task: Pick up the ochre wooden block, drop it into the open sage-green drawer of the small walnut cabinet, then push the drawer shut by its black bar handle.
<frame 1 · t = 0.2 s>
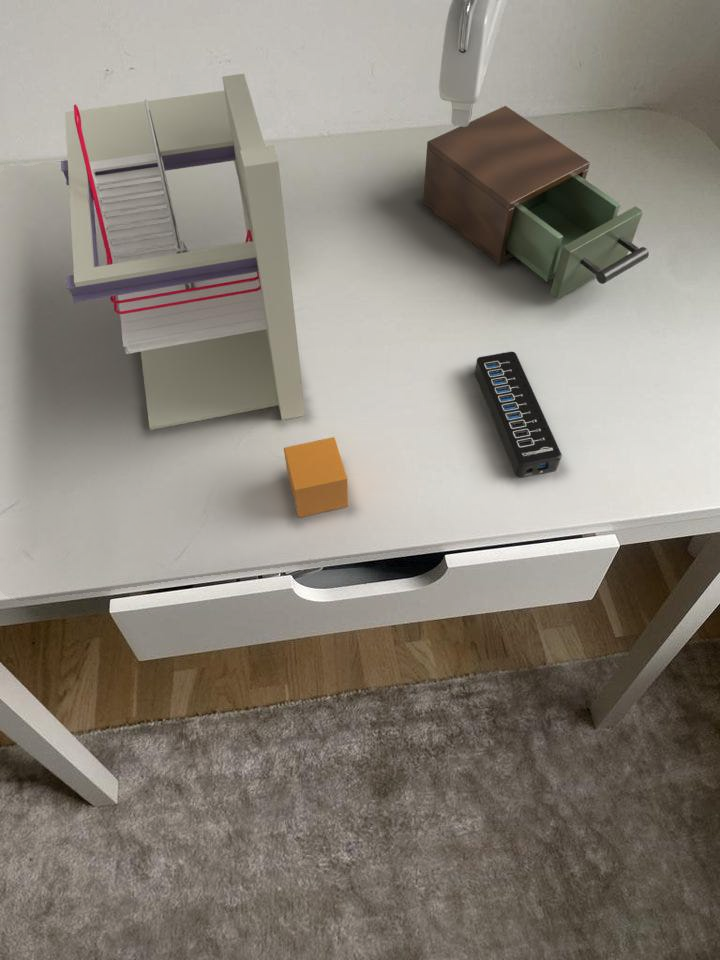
hand: (468, 96, 78), 20 cm above the table, tool pointing down, fingers open, 8 cm apart
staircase: (203, 339, 87), on the table
drawer: (569, 233, 90), point 4 cm above the table, slide at 8.0 cm
block: (317, 491, 75), on the table
multiport hub: (513, 419, 80), on the table
cabinet: (497, 213, 98), on the table
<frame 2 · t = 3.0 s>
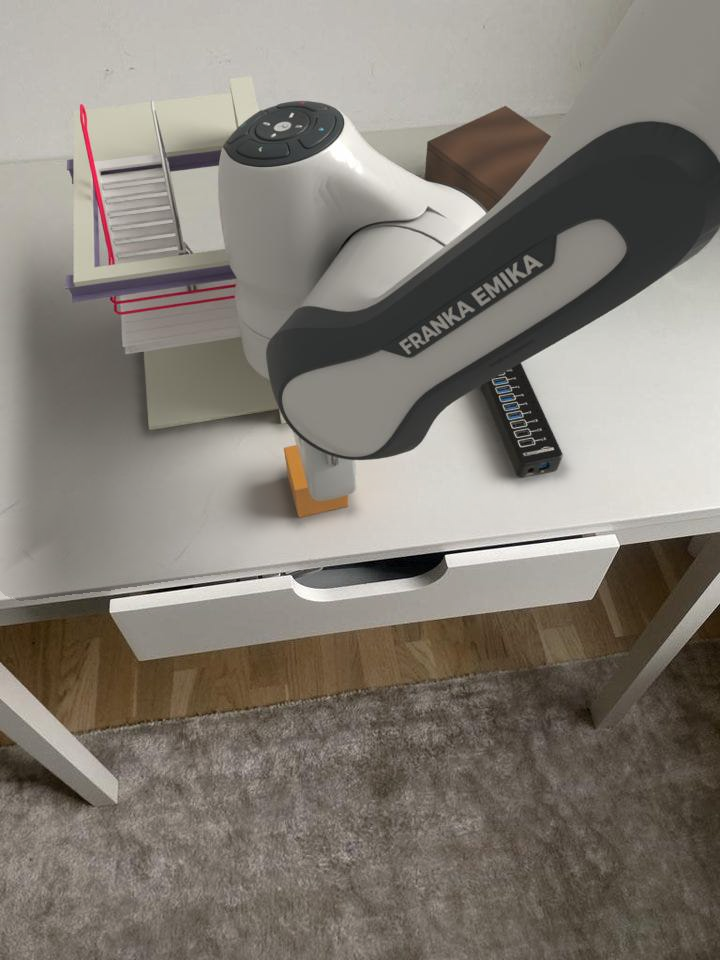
hand: (310, 437, 68), 9 cm above the table, tool pointing down, fingers open, 8 cm apart
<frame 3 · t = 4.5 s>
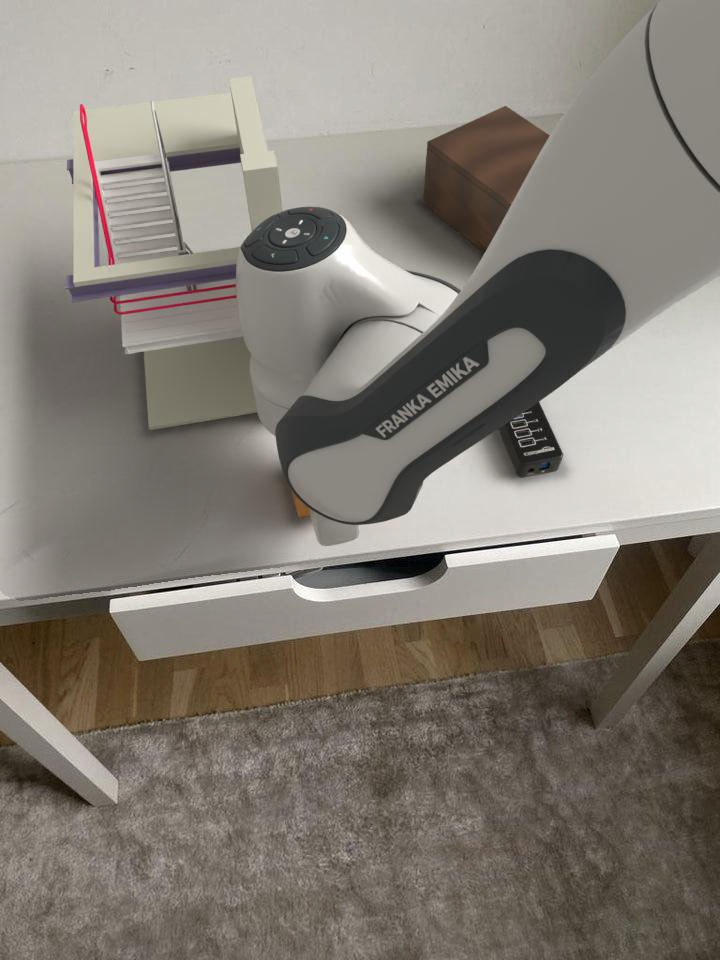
hand: (317, 482, 74), 2 cm above the table, tool pointing down, fingers closed on block, 5 cm apart
block: (317, 491, 75), on the table, touching gripper
everything else where it was.
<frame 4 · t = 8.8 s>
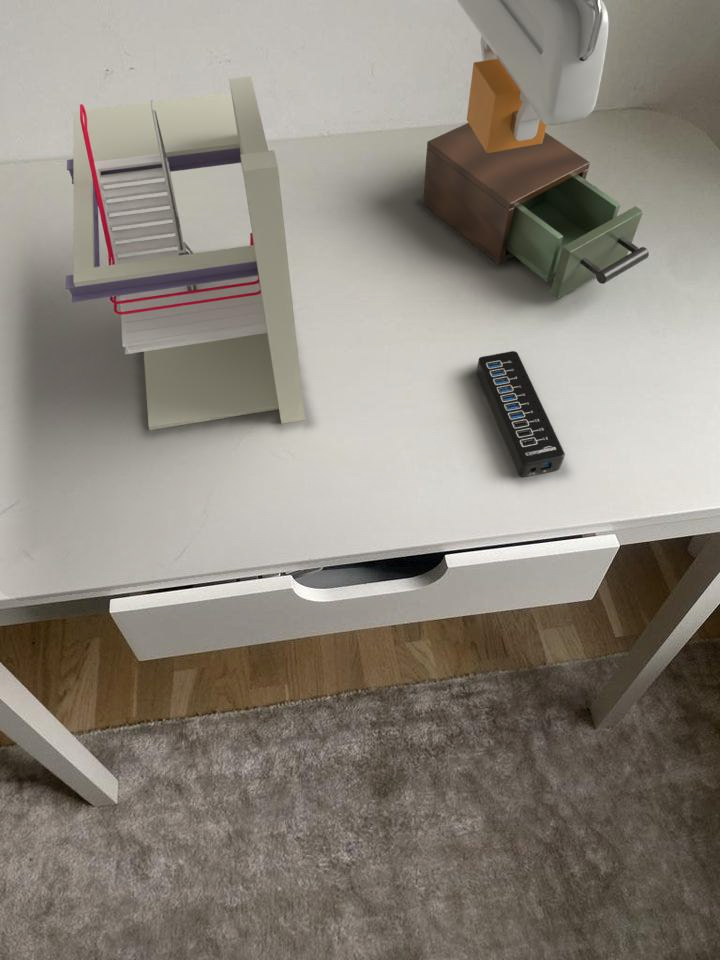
hand: (507, 113, 64), 27 cm above the table, tool pointing down, fingers closed on block, 5 cm apart
block: (503, 131, 65), point 26 cm above the table, touching gripper
everything else where it was.
when the fingers open (10 cm above the table, at t = 13.6 s): block drops 6 cm, resting on drawer.
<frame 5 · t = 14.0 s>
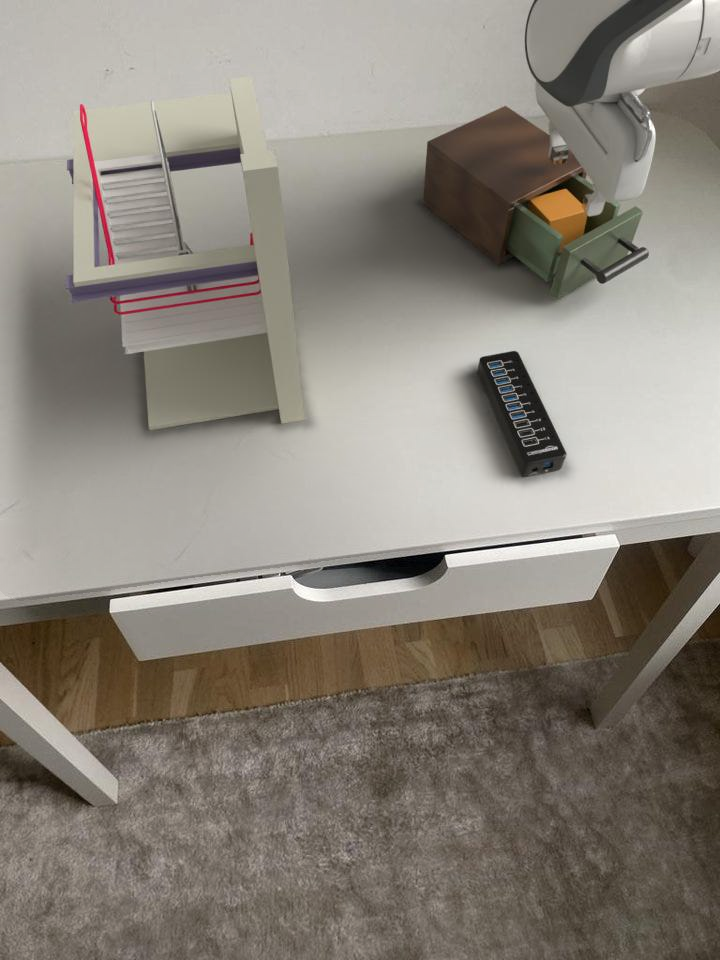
hand: (573, 185, 85), 10 cm above the table, tool pointing down, fingers open, 8 cm apart
drawer: (569, 233, 90), point 4 cm above the table, slide at 8.0 cm, touching block
block: (551, 241, 92), point 2 cm above the table, tilted 5°, touching drawer
everything else where it was.
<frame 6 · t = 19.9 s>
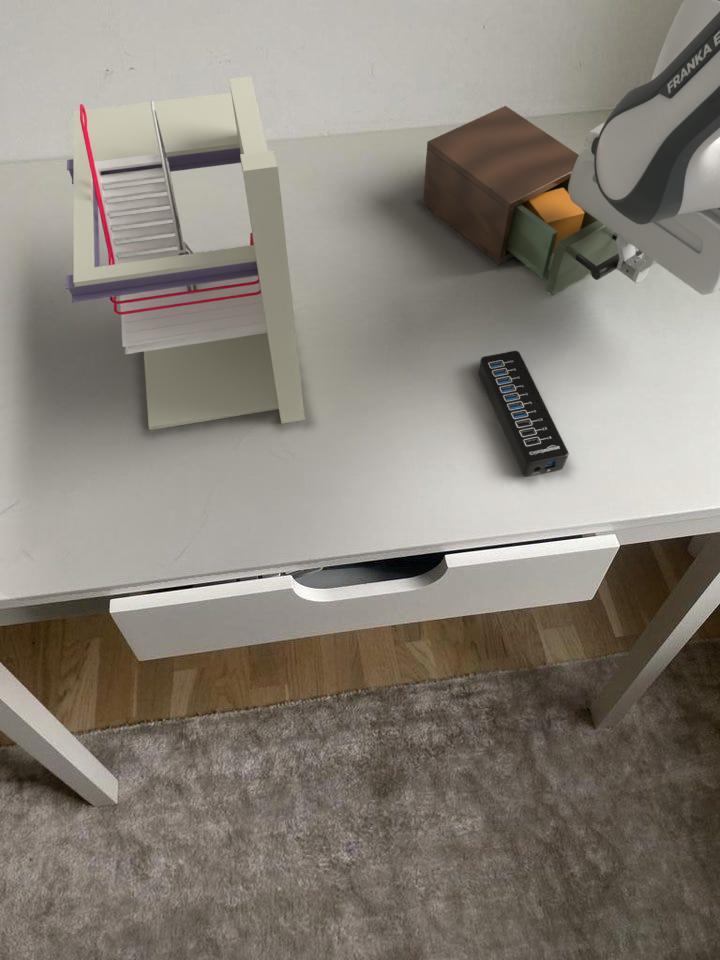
hand: (630, 274, 85), 5 cm above the table, tool pointing down, fingers closed
drawer: (564, 229, 90), point 4 cm above the table, slide at 7.2 cm, touching block, gripper
block: (546, 239, 92), point 2 cm above the table, touching drawer
everything else where it was.
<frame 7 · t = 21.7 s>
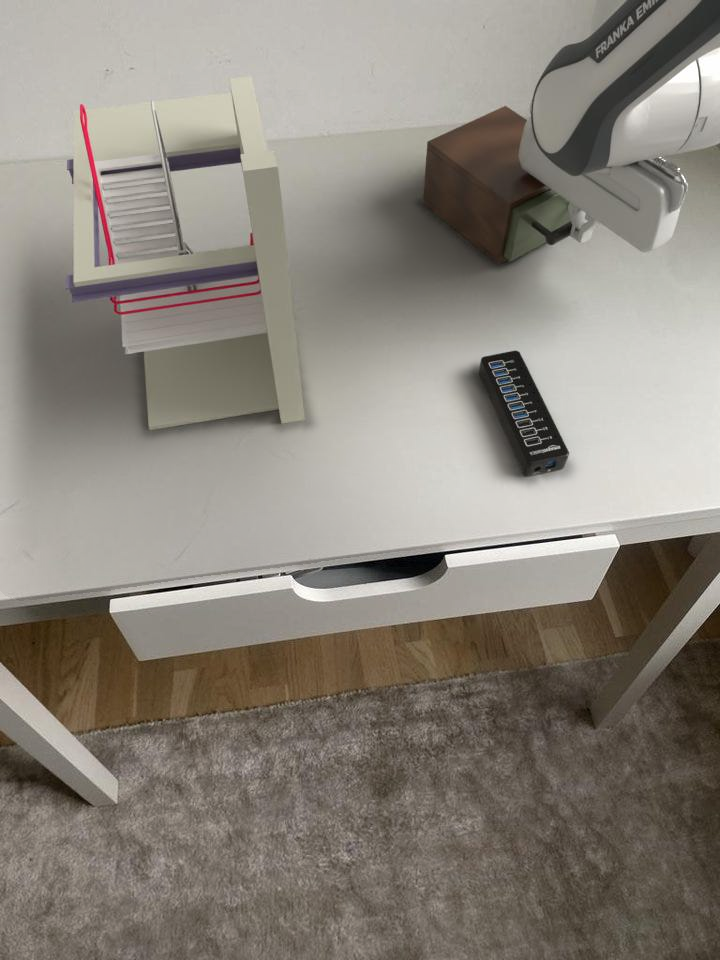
hand: (579, 238, 88), 5 cm above the table, tool pointing down, fingers closed
drawer: (522, 199, 93), point 4 cm above the table, slide at 0.0 cm, touching block, cabinet, gripper
block: (506, 208, 96), point 2 cm above the table, touching drawer
everything else where it was.
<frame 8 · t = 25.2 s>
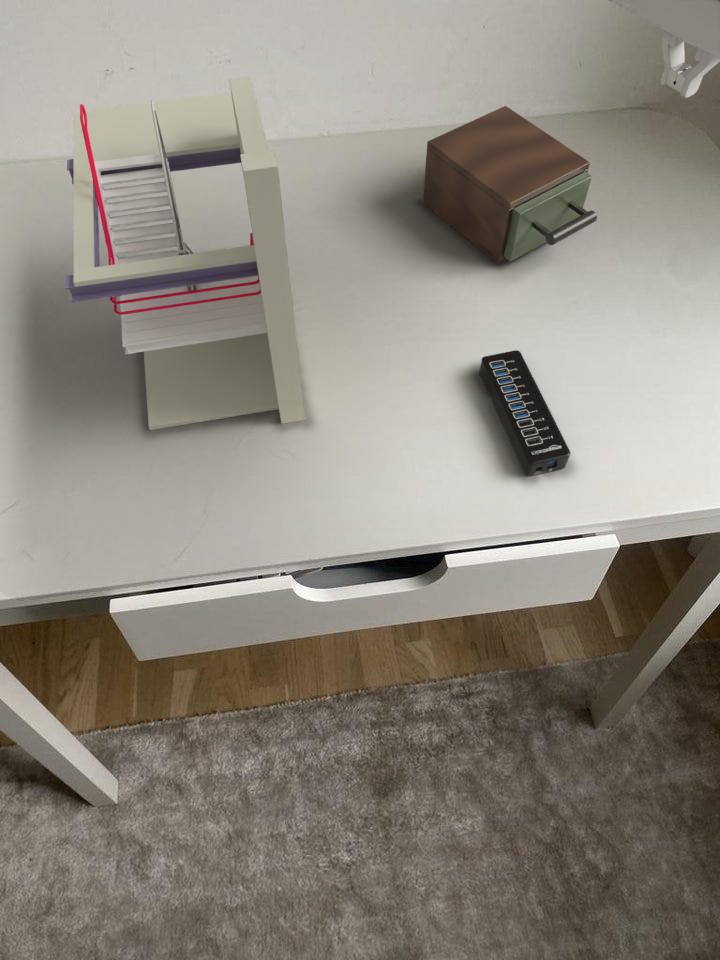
hand: (677, 89, 69), 25 cm above the table, tool pointing down, fingers closed
drawer: (522, 199, 93), point 4 cm above the table, slide at 0.0 cm, touching block
everything else where it was.
at the end: block inside the target area in the cabinet (1.9 cm from its centre), point 2.1 cm above the cabinet's base; drawer slide at 0.0 cm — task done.
